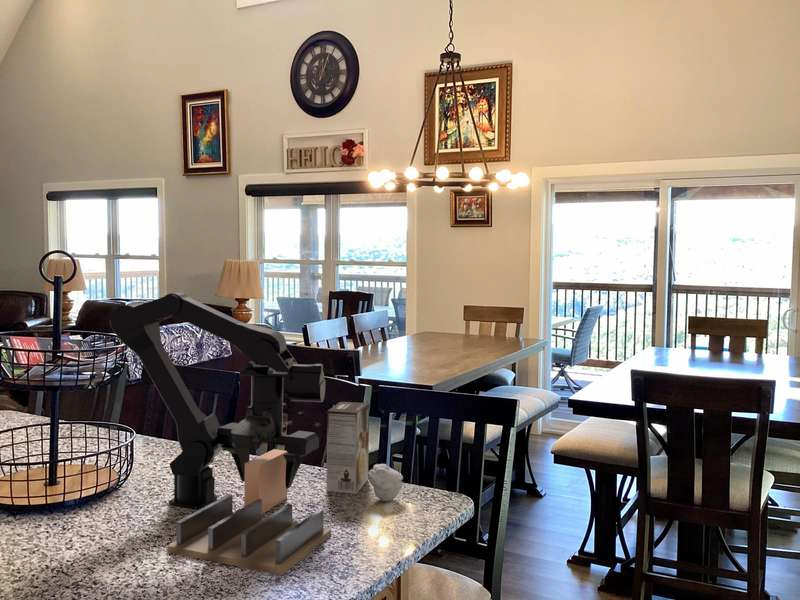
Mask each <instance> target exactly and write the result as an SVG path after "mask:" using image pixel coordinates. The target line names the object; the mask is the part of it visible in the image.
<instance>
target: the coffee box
mask: <svg viewBox="0 0 800 600" xmlns="http://www.w3.org/2000/svg"><path fill="white" fill-rule="evenodd" d="M326 416H327V417H326V425H327V426H326V490H325V491H326V492H330V493H341V494H342V493H344V494H354V495H355V494H356V493H357V494H358V492H360V490H361V489H362V488H363V486H365V484H366V483H367V481H369V480H368V476H369V474H368V473H367V472H369V446H370V445H369V444H370V442H369V438H370V437H369V436H370V434H369V432H370V402H369V403H368V402H354V401H353V402H352V401H339V402H338V403H336V404H335V405H334V406H332V407H331V408H330V409H328V410H327V413H326ZM357 494H356V495H357Z"/></svg>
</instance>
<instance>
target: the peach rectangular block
mask: <svg viewBox="0 0 800 600" xmlns="http://www.w3.org/2000/svg"><path fill="white" fill-rule="evenodd" d="M285 453H287V451H286V450H282V449H276V448H273V449H272V450H270V451H268V452H265V453H264V454H261V455H259V456H257V457H255V458H253V459H251V460H250V459H249V461H248V462H246V463H245V482H244V488H243V489H244V491H243V492H244V497H243V498H244V504H243V507H245V506H247V505H248V504H250V503H252V502H253V501H255V500H257V499H261V500H262V514H263V512H264V513H265V512H267V511H268V510H270V509H271V508H273V507H274V506H276V505H278V504H279V503H281V502H283V501H284V500H286V499H288V489H287V488H286V483H285V478H286V460H285V458H284V456H283V454H285Z"/></svg>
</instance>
